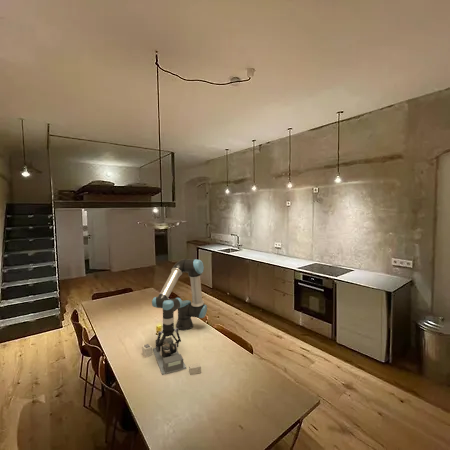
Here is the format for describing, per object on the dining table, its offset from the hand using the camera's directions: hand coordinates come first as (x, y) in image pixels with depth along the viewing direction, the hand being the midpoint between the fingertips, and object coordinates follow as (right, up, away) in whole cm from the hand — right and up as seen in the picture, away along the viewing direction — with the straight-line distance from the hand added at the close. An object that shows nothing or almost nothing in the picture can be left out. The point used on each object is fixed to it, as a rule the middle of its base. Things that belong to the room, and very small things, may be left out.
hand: (168, 353), depth 187 cm
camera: (0, -1, 0) cm, 1 cm away
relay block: (-17, -4, +5) cm, 18 cm away
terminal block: (+21, -5, -16) cm, 26 cm away
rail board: (0, -4, 0) cm, 4 cm away
